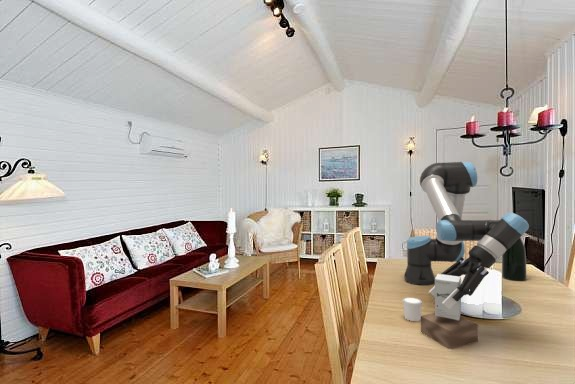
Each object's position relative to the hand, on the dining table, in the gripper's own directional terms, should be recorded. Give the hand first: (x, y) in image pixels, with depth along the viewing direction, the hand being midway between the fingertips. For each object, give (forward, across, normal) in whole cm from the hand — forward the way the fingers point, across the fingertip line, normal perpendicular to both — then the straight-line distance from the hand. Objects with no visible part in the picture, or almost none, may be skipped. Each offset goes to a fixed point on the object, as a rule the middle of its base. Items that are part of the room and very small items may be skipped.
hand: (438, 300), depth 104 cm
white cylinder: (+12, +14, -6) cm, 20 cm away
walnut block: (+7, 0, -11) cm, 13 cm away
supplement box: (+1, 0, -6) cm, 6 cm away
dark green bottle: (-38, +63, -56) cm, 93 cm away
